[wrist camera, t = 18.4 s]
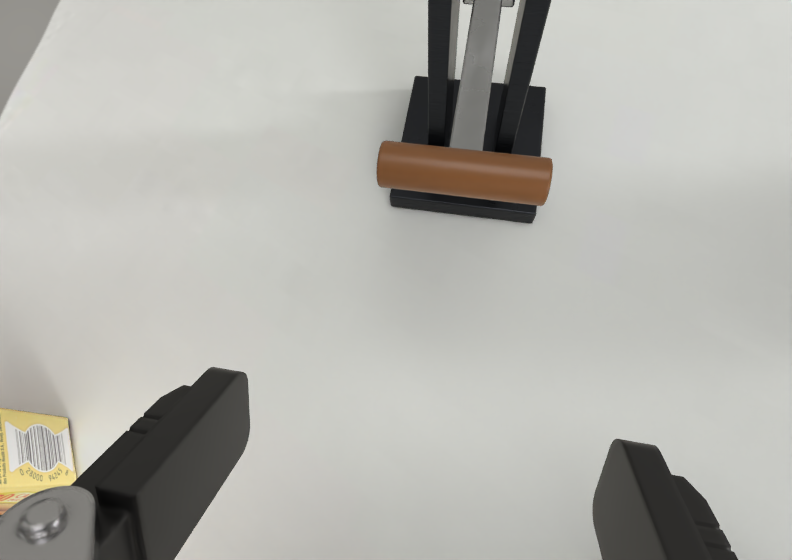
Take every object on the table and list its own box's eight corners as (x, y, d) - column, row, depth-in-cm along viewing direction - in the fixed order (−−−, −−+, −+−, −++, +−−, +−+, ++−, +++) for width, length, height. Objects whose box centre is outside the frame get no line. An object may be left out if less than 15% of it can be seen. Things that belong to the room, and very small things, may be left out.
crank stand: (532, 224, 30) (620, 10, 16) (390, 206, 31) (361, -8, 17) (542, 99, 33) (621, -161, 20) (415, 88, 35) (407, -166, 21)
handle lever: (538, 221, 17) (555, 181, 14) (380, 201, 17) (373, 160, 15) (557, -33, 21) (571, -92, 19) (433, -40, 22) (434, -98, 20)
